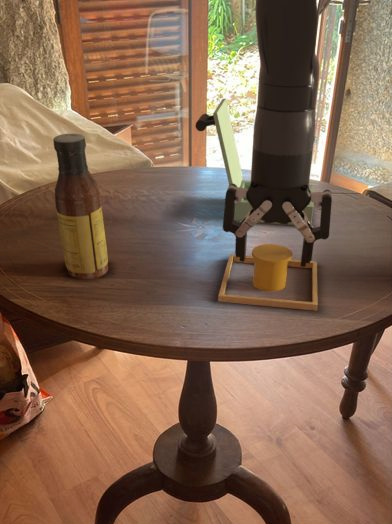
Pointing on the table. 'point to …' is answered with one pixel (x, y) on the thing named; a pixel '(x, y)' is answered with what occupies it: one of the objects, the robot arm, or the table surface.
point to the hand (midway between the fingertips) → (272, 261)
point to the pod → (270, 266)
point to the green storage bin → (245, 207)
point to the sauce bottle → (79, 210)
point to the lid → (224, 140)
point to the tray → (268, 301)
